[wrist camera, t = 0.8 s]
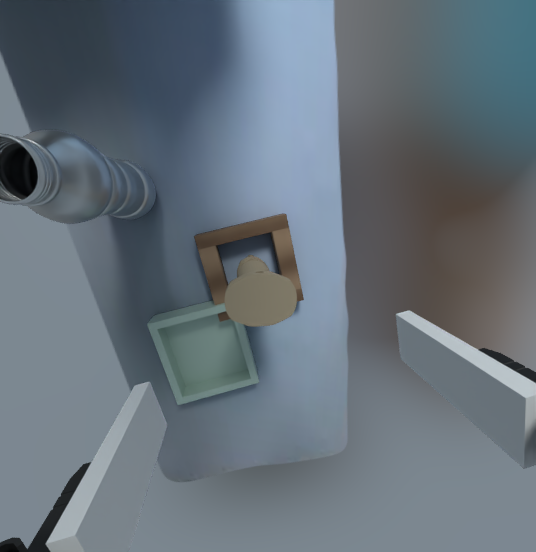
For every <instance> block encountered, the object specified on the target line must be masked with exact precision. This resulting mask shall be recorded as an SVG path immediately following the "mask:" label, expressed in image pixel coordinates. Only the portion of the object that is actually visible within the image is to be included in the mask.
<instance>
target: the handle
mask: <svg viewBox="0 0 536 552" xmlns="http://www.w3.org/2000/svg"><path fill="white" fill-rule="evenodd" d="M296 304H297V293H296V289H295V287H294V285H293V283H292V282H291V281H290V279H288V278H286V277H284V276H282V275H279V274H276V273H273V272H270V271H269V269H268V267H267V265H266V264H265V263H264V262H263V261H262V260H261V259H259V258H257V257H254V256H253V255H249V256H248V257H247V258H245V259H243V260H241V261H240V263H239V266H238V270H237V278H236V279H234V280H232V281H231V282H230V283H229V284H228V286H227V289H226V292H225V309H226V312H227V314H228V316H229V317H230V319H231V320H233V321H235V322H238V323H241V324H244V325H247V326H255V327H257V326H269V325H274V324H276V323H279V322H281V321H283V320H285V319H287V318H288V317H290V316H291V315H292V314H293V312H294V310H295V308H296Z"/></svg>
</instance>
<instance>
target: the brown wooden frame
mask: <svg viewBox="0 0 536 552" xmlns="http://www.w3.org/2000/svg"><path fill="white" fill-rule="evenodd" d="M269 232H270V234H271V238H272V243H273V247H274V252H275V256H276V260H277V265H278V269H279V274H280V275H282V276H284V277H286V278H288V279H290V281H291V282H292V283H293V285H294V287H295V289H296V293H297V301H301V300H304V299H303V294H302V289H301V284H300V279H299V274H298V269H297V264H296V260H295V255H294V250H293V245H292V240H291V235H290V230H289V226H288V221H287V216H286V214H280V215H275V216H271V217H267V218H263V219H259V220H255V221H251V222H246V223H242V224H238V225H234V226H230V227H226V228H222V229H218V230H213V231H209V232H205V233H201V234H197V235H195V236H194V238H195V241H196V245H197V248H198V251H199V254H200V258H201V261H202V264H203V268H204V271H205V274H206V278H207V281H208V284H209V288H210V291H211V294H212V298H213V301H214V304H215V305H218V304H222V303H225V292H226V289H227V286H228V282H227V278H226V275H225V271H224V268H223V264H222V261H221V257H220V254H219V250H218V246H217V245H220V244H224V243H228V242H232V241H236V240H240V239H244V238H249V237H253V236H257V235H261V234H265V233H269ZM217 314H218V317H219V321H220V322H221V321H225V320H229V319H230V317H229V316H228V314H227V312H226V311H225V312H221V313H217Z"/></svg>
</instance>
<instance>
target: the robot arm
mask: <svg viewBox="0 0 536 552" xmlns="http://www.w3.org/2000/svg"><path fill="white" fill-rule="evenodd" d="M396 321H397V329H398V339H399V348H400V357H401V359H402V360H403V361H404V362H405V363H406V364H407V365H408V366H409V367H410V368H412V369H413V370H414V371H415V372H416V373H417V374H418V375H419V376H421V377H422V378H423V379H424V380H425V381H426V382H427V383H428V384H430V385H431V386H432V387H433V388H434V389H435V390H436V391H437V392H438V393H440V394H441V395H442V396H443V397H444V398H445V399H446V400H447V401H449V402H450V403H451V404H452V405H453V406H454V407H455V408H456V409H458V410H459V411H460V412H461V413H462V414H463V415H464V416H465V417H466V418H468V419H469V420H470V421H471V422H472V423H473V424H474V425H476V426H477V427H478V428H479V429H480V430H481V431H482V432H483V433H484V434H486V435H487V436H488V437H489V438H490V439H491V440H492V441H493V442H494V443H496V444H497V445H498V446H499V447H500V448H501V449H502V450H504V451H505V452H506V453H507V454H508V455H509V456H510V457H511V458H512V459H514V460H515V461H516V462H517V463H518V464H519V465H520V466H521V467H522V468H524V469H525V468H527V467H531V466H534V465H536V372H534V371H532V370H531V369H529V368H525V366H523V365H521V364H519V363H518V362H514V361H513V360H512V359H510V358H508V357H507V356H505V355H503V354H501V353H498V352H495V351H492V350H488V349H485V348H482V349H479V350H477V349H475V348H474V347H472V346H470V345H468V344H467V343H465V342H463V341H462V340H460V339H458V338H456V337H454V336H453V335H451V334H449V333H447V332H446V331H444V330H442V329H441V328H439V327H437V326H435V325H434V324H432V323H430V322H428V321H427V320H425V319H423V318H421V317H419V316H418V315H416V314H415V313H413V312H411V311H405V312H402V313H398V314H396ZM166 429H167V423H166V420H165V418H164V415H163V413H162V410H161V408H160V405H159V403H158V400H157V398H156V395H155V393H154V390H153V388H152V385H151V383H150V381H149V382H146V383H142V384H138V385H135V386H134V388H133V389H132V391H131V393H130V395H129V397H128V398H127V400H126V402H125V404H124V405H123V407H122V409H121V411H120V412H119V414H118V416H117V418H116V420H115V421H114V423H113V425H112V427H111V428H110V430H109V432H108V434H107V436H106V437H105V439H104V441H103V443H102V445H101V446H100V448H99V450H98V452H97V453H96V455H95V457H94V459H93V461H92V462H90V463H86V464H83V465H82V467H81V468H80V469H79V470H78V471H77V472H76V473H75V474H74V475H73V476H72V477H71V479H70V480H69V482H68V483H67V485H66V487H65V488H64V490H63V492H62V493H61V497H59V498H58V500H57V501H56V503H55V505H54V507H53V510H51V511H50V513H49V515H48V516H47V518H46V520H45V521H44V523H43V524H42V526H41V528H40V530H39V531H38V533H37V535H36V536H35V538H34V539H33V541H32V543H31V544H30V546H29V548H28V549H27V548H26V547H25V545H24V544H23V542H22V541H21V539H20V538H10V539H8V540H5V541H3V542H1V543H0V552H129V549H130V546H131V543H132V540H133V536H134V533H135V530H136V527H137V523H138V520H139V517H140V514H141V510H142V507H143V504H144V501H145V497H146V494H147V491H148V487H149V484H150V481H151V478H152V474H153V471H154V468H155V465H156V461H157V458H158V455H159V451H160V448H161V445H162V442H163V438H164V435H165V432H166Z"/></svg>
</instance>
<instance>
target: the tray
mask: <svg viewBox="0 0 536 552" xmlns="http://www.w3.org/2000/svg"><path fill="white" fill-rule="evenodd" d="M225 311H226V309H225V303H222V304H218V305H215V304H214V301H213V300H211V301H208V302H204V303H200V304H196V305H192V306H188V307H184V308H180V309H177V310H173V311H169V312H165V313H161V314H157V315H154V316H153V317H152V318H151V320H150V321H149V322H148V324H147V326H148V328H149V331H150V334H151V336H152V339H153V341H154V344H155V347H156V349H157V352H158V354H159V357H160V360H161V362H162V365H163V367H164V370H165V373H166V375H167V378H168V381H169V383H170V386H171V388H172V391H173V394H174V396H175V399H176V401H177V404H178V405H181V404H185V403H188V402H192V401H195V400H199V399H202V398H206V397H210V396H213V395H217V394H220V393H224V392H227V391H231V390H234V389H238V388H242V387H245V386H249V385H252V384H256V383H259V378H258V371H257V367H256V364H255V360H254V356H253V353H252V349H251V345H250V342H249V338H248V335H247V331H246V327H245V325H244V324H241V323H238V322H235V321H233V320H231V319H229V320H225V321H221V322H220V321H219V317H218V314H217V313H221V312H225Z"/></svg>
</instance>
